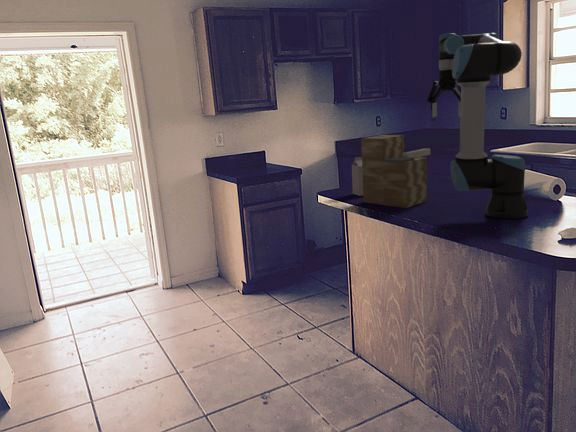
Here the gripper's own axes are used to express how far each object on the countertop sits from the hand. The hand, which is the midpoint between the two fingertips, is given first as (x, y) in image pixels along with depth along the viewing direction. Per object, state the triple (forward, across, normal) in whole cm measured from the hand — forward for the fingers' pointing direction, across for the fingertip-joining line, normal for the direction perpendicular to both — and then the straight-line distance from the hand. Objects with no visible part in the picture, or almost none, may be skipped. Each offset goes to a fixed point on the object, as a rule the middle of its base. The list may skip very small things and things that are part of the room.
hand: (447, 116), depth 233 cm
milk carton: (+37, +35, +21) cm, 55 cm away
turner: (+17, +4, +24) cm, 29 cm away
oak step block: (+37, +10, +28) cm, 47 cm away
